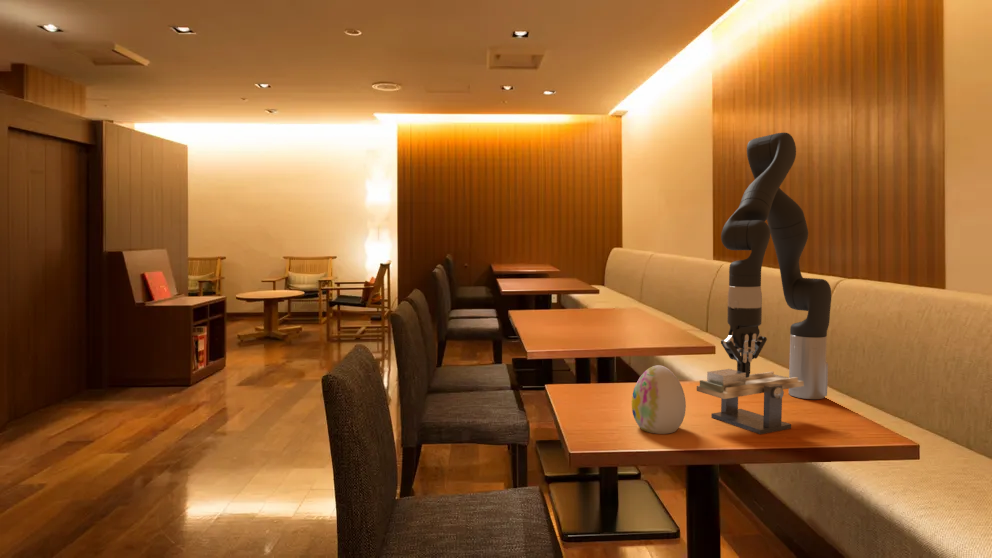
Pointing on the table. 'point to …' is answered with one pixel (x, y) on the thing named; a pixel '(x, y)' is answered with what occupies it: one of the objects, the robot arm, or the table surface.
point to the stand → (753, 420)
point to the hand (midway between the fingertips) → (743, 377)
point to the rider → (727, 378)
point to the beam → (749, 385)
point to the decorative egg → (658, 401)
